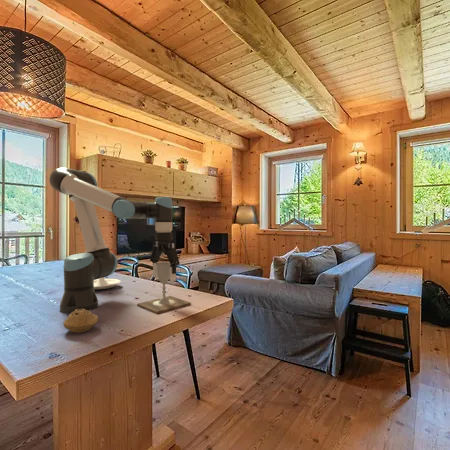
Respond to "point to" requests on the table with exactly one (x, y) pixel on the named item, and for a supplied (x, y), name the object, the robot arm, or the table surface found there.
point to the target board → (163, 305)
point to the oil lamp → (80, 321)
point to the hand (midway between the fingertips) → (164, 278)
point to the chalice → (163, 278)
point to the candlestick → (105, 282)
